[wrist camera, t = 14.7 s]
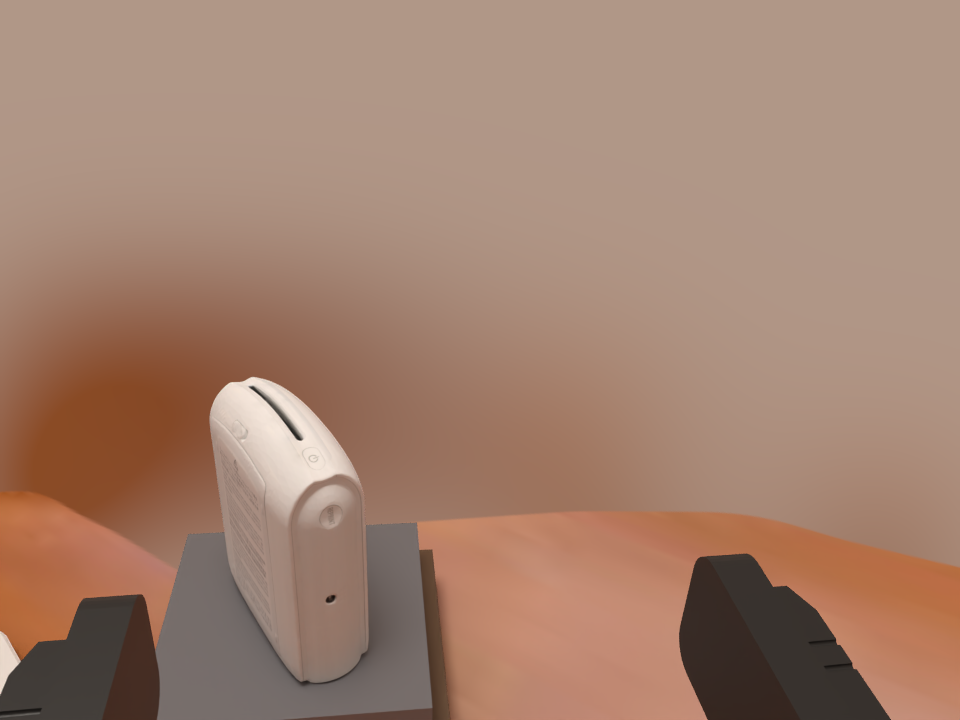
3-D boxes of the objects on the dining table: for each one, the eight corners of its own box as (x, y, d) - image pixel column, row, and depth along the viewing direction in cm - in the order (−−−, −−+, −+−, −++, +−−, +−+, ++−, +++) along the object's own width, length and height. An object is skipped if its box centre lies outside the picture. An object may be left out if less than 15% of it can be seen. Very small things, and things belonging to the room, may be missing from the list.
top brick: (143, 776, 38) (132, 731, 36) (194, 574, 49) (188, 534, 47) (432, 751, 39) (432, 707, 38) (416, 561, 50) (416, 522, 49)
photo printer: (383, 661, 40) (376, 446, 34) (299, 702, 38) (277, 480, 32) (294, 540, 47) (276, 347, 41) (219, 569, 45) (190, 369, 39)
